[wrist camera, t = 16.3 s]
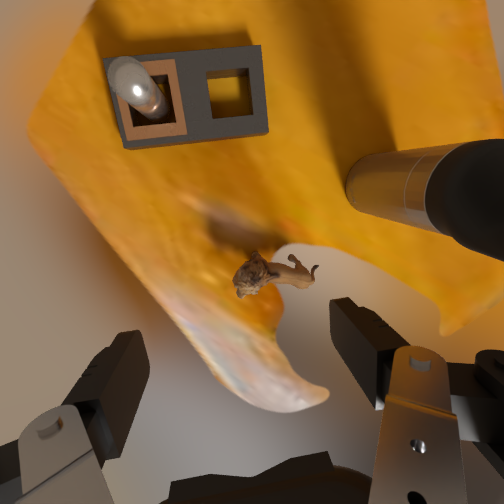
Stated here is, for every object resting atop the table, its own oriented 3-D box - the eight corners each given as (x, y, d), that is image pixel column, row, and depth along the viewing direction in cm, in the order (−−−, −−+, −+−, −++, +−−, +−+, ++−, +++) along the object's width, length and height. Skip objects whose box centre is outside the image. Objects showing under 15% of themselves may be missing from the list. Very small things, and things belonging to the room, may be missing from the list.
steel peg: (167, 92, 36) (143, 54, 25) (172, 121, 37) (152, 98, 26) (139, 94, 36) (103, 57, 25) (146, 124, 37) (113, 101, 26)
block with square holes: (257, 54, 36) (261, 43, 33) (265, 135, 39) (269, 131, 36) (112, 67, 35) (101, 57, 32) (131, 150, 38) (123, 148, 35)
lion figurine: (230, 281, 45) (233, 306, 36) (230, 250, 43) (233, 269, 35) (316, 278, 47) (338, 301, 38) (318, 248, 45) (342, 266, 37)
